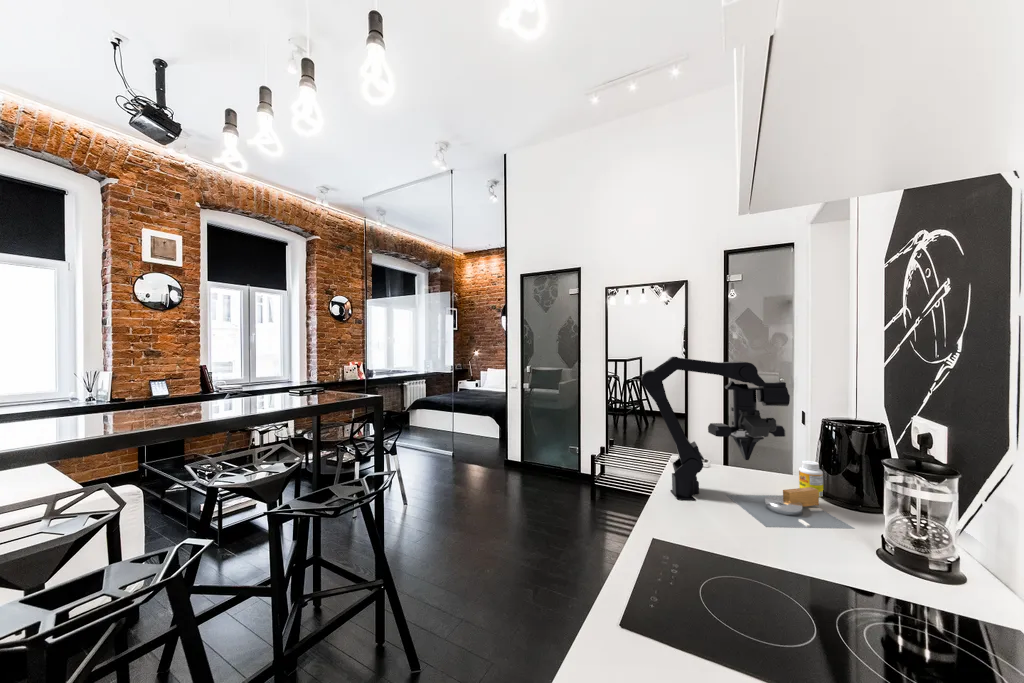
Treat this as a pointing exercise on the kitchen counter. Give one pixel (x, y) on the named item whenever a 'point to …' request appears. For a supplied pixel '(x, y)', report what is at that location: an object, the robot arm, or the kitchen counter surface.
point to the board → (808, 519)
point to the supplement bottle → (811, 476)
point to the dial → (792, 501)
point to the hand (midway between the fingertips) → (746, 459)
